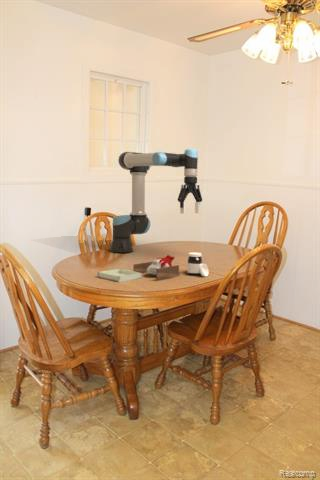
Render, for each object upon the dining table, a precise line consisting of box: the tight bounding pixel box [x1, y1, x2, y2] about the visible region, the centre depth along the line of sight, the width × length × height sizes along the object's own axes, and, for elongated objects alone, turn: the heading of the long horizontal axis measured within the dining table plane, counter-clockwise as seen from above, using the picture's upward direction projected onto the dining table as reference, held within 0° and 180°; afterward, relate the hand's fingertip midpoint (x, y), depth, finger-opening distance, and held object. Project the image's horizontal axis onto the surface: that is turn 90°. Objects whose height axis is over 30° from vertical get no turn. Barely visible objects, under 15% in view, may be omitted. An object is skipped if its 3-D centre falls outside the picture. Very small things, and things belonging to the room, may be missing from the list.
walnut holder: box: [132, 261, 181, 282], centre depth 218 cm, size 18×17×6 cm
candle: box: [146, 254, 175, 276], centre depth 218 cm, size 9×11×15 cm
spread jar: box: [187, 252, 209, 278], centre depth 222 cm, size 12×11×12 cm
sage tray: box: [97, 268, 143, 283], centre depth 213 cm, size 17×15×3 cm
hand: (189, 213), depth 243 cm, fingers open, 13 cm apart
